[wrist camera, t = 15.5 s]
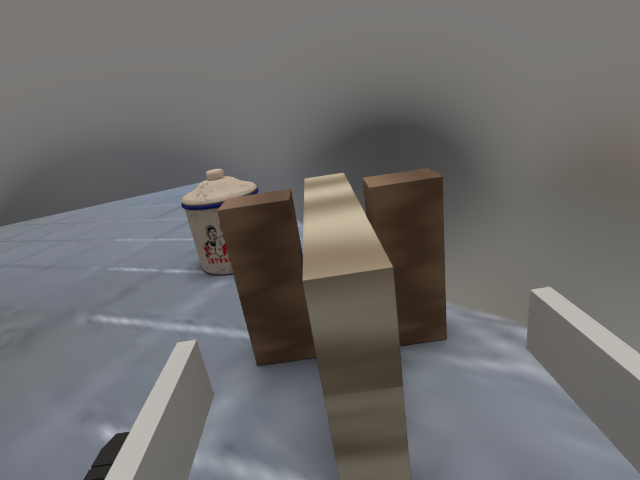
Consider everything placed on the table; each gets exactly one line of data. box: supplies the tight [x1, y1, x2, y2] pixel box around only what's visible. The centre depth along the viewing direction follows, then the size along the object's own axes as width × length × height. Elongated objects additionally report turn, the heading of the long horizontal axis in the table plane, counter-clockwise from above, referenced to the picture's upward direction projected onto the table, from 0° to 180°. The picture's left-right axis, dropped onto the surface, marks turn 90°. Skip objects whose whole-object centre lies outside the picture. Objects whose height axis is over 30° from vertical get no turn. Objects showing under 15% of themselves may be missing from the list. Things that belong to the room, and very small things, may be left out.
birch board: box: [303, 173, 411, 480], centre depth 22 cm, size 17×3×12 cm, turn 2°
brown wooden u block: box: [217, 168, 447, 366], centre depth 26 cm, size 14×3×12 cm, turn 92°
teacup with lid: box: [181, 169, 258, 274], centre depth 45 cm, size 12×9×12 cm
